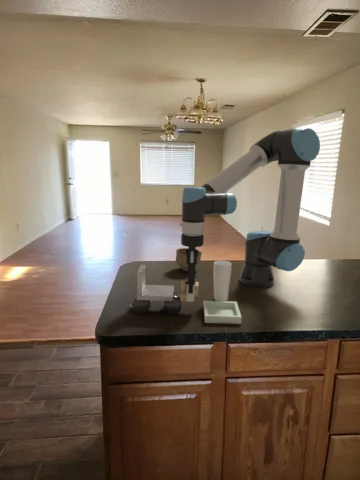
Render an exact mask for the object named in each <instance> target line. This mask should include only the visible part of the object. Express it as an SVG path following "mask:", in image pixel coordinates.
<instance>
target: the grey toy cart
mask: <svg viewBox="0 0 360 480" xmlns="http://www.w3.org/2000/svg"><path fill="white" fill-rule="evenodd" d="M136 279H137V281H136V284H137V290H136V291H137V293H136V295H135V298H134V299H133V301H132V304H131V308H132V310H133V312H134V313H136V314H137V315H145V314H147V313H148V312H149V310H150V307H151V303H152V302H155V301H158V302H164V304H163V310H164V312H165V313H166V314H168V315H169V316H176V315H178V314H180V312H181V310H182V304H183V301H180V299H181V293H180V292H178V291H176V290H175V285H170V284H169V285H166V284H165V285H164V284H163V285H162V284H159V285H158V284H147V283H146V264H140V266H139V268H138V270H137V272H136Z"/></svg>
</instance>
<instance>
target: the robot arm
mask: <svg viewBox="0 0 360 480" xmlns="http://www.w3.org/2000/svg"><path fill="white" fill-rule="evenodd" d="M320 150H321V141H320V138H319V135H318V134H317V133H316V130H313V129H312V128H310V127H296V128H288V129H279V130H275V131H272V132H271V133H268V134H267V135H266V136H264V137H262V138H261V139H260V140H258V141H256V142H255V143H254V144H252V145H251V146H250V147H249V149H248V151H247V152H246V153H245V154H244V155H242V156H240V157H239V158H238V159H236V160H235V161H234V162H232V163H231V164H230V165H228V166H227V167H226V168H224V169H223V170H222V171H221V172H219V173H218V174H216V175H215V176H213V178H211V179H210V180H207V182H206V183H205V184H203V185H201V186H187V187H184V188H183V189H182V196H181V197H182V199H181V202H182V203H181V204H182V205H181V206H182V207H181V223H180V224H179V226H180V227H181V236H180V238H181V239H180V243H181V245H182V246H184V247H188V249H186V256H187V264H188V271H186V273H187V275H186V277H187V278H186V281H187V282H185V284H187V296H186V301H188V303H195V302H194V293H195V282H196V279H197V274H196V268H195V265H196V264H197V256H198V251H199V250H198V249H196V248H200V247H203V245H204V241H205V240H204V239H205V238H204V233H205V219H206V218H205V216H223V215H224V216H226V215H232V214H233V213H235V211H236V210H237V204H238V200H237V198H236V197H237V196H236V195H234V193H233V192H229V191H230V190H231V189H233V188H234V187H236V186H237V184H239V183H240V182H242V181H243V180H244V179H246V178H247V177H248V176H250V175H251V174H252V173H254V171H256V170H257V169H259V168H260V167H261V168H263V167H264V168H265V166H267V165H269V164H270V163H272V162H273V163H274V162H277V166H278V168H280V170H281V171H280V180H279V186H278V193H277V194H278V195H277V196H278V197H277V202H276V203H277V204H276V213H275V219H274V228H273V231H272V230H271V231H268V230H259V231H258V230H257V231H249V232H248V233H247V234H246V239H245V253H244V265H243V267H242V270H241V271H240V273H239V281H240V283H241V284H243V285H246V286H248V287H253V288H270V287H272V286H273V285H274V284H275V276H274V272H273V269H272V267H274V268H277V270H281V271H285V272H292V271H294V270H296V269H298V267H299V266H300V265H301V264H302V263H303V261H304V258H305V253H306V251H305V248H304V246H303V245H302V244H300V240H301V237H300V235H298V233H297V232H298V225H299V219H300V212H301V211H300V210H301V203H302V198H303V189H304V181H305V174H306V170H308V169H309V168H310V167H311V164H312V163H311V162H312V161H314V160H315V159H316V158H317V156H318V155H319V153H320Z"/></svg>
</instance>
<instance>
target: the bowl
mask: <svg viewBox="0 0 360 480" xmlns="http://www.w3.org/2000/svg"><path fill="white" fill-rule="evenodd" d="M188 248H189V247H188ZM188 248H187V247H186V248H184V247H183V248H177V249H176V250H175V251H176V253H175V254H176V255H175V263H176V264H177V266H178V267H179V268H180V269H181V270H182V271H183V272H188V264H187V256H186V249H188ZM202 254H203V253H202V251H201V250H198V256H197V264H196V265H195V269H197V268H198V267H199V265H200V264H201V259H202Z"/></svg>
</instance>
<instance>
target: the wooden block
mask: <svg viewBox="0 0 360 480" xmlns="http://www.w3.org/2000/svg"><path fill="white" fill-rule="evenodd" d="M185 282H187V280H181V283H180V295H181V299H180V301H182V303H183V302H185V303H187V302H188V301H186V296H187V284H185ZM199 287H200V285H199V281H195V293H194V302H193V303H199V302H198V301H199ZM188 303H189V302H188Z"/></svg>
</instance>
